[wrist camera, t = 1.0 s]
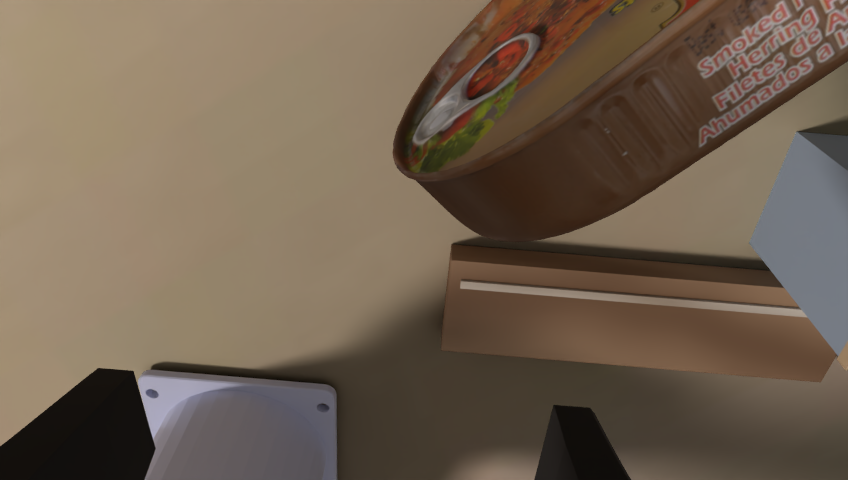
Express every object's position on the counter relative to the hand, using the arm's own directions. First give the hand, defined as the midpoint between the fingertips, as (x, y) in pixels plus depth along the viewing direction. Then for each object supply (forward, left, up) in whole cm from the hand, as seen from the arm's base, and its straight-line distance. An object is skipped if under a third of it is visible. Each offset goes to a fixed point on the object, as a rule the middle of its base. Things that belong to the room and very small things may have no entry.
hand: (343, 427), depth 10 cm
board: (-5, -9, -10) cm, 15 cm away
